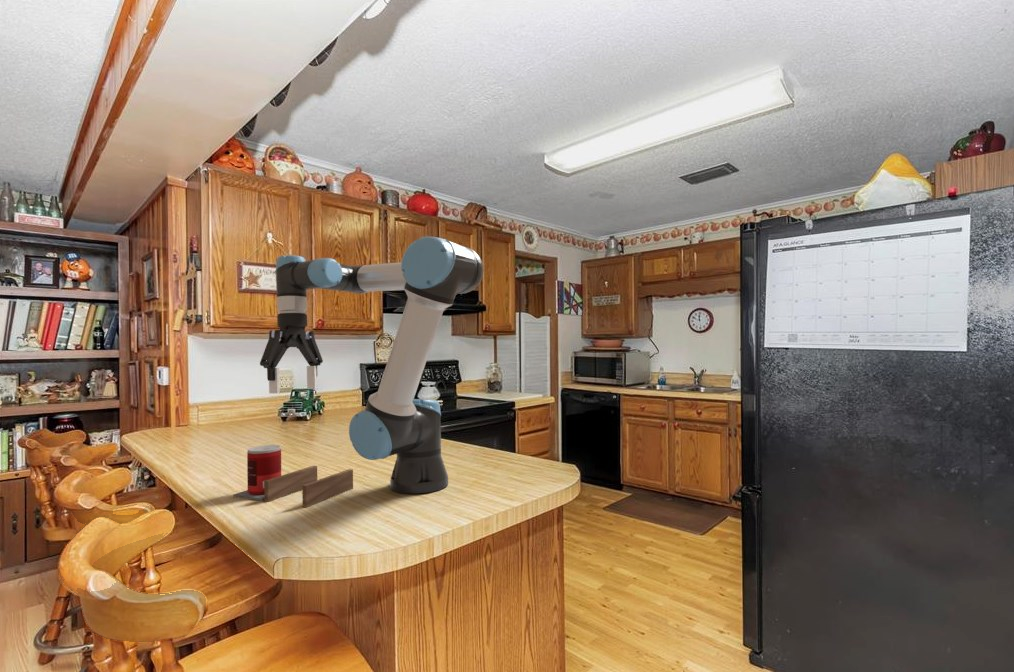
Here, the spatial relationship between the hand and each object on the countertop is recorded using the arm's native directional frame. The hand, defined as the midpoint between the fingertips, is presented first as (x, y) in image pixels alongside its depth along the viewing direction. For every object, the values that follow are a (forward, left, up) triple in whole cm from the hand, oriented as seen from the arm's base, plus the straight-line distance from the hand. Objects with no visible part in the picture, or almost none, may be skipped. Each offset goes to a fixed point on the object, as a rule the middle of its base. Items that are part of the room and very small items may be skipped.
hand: (294, 391), depth 133 cm
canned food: (+2, +8, -25) cm, 26 cm away
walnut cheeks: (-10, +5, -26) cm, 28 cm away
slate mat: (+2, +8, -26) cm, 27 cm away
